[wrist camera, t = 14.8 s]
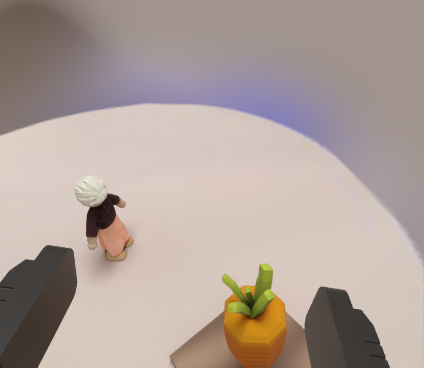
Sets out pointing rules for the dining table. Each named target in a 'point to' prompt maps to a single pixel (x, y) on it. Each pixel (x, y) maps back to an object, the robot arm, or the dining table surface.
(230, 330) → the carrot
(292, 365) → the walnut board
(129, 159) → the dining table surface
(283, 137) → the dining table surface
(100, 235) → the grandmother figurine
